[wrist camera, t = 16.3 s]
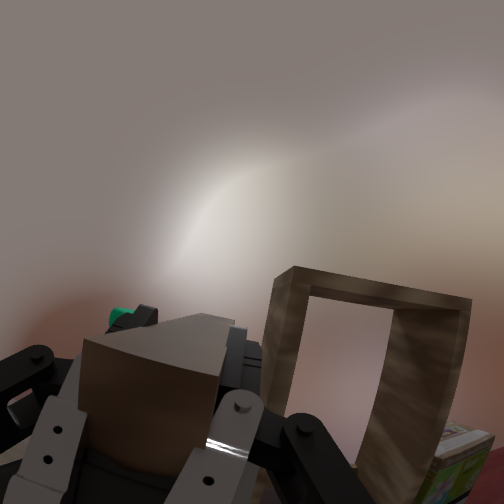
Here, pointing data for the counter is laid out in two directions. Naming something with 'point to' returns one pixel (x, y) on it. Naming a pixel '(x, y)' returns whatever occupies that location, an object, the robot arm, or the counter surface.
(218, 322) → the batten
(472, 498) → the counter surface
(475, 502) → the counter surface
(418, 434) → the wooden open box
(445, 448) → the tea box
